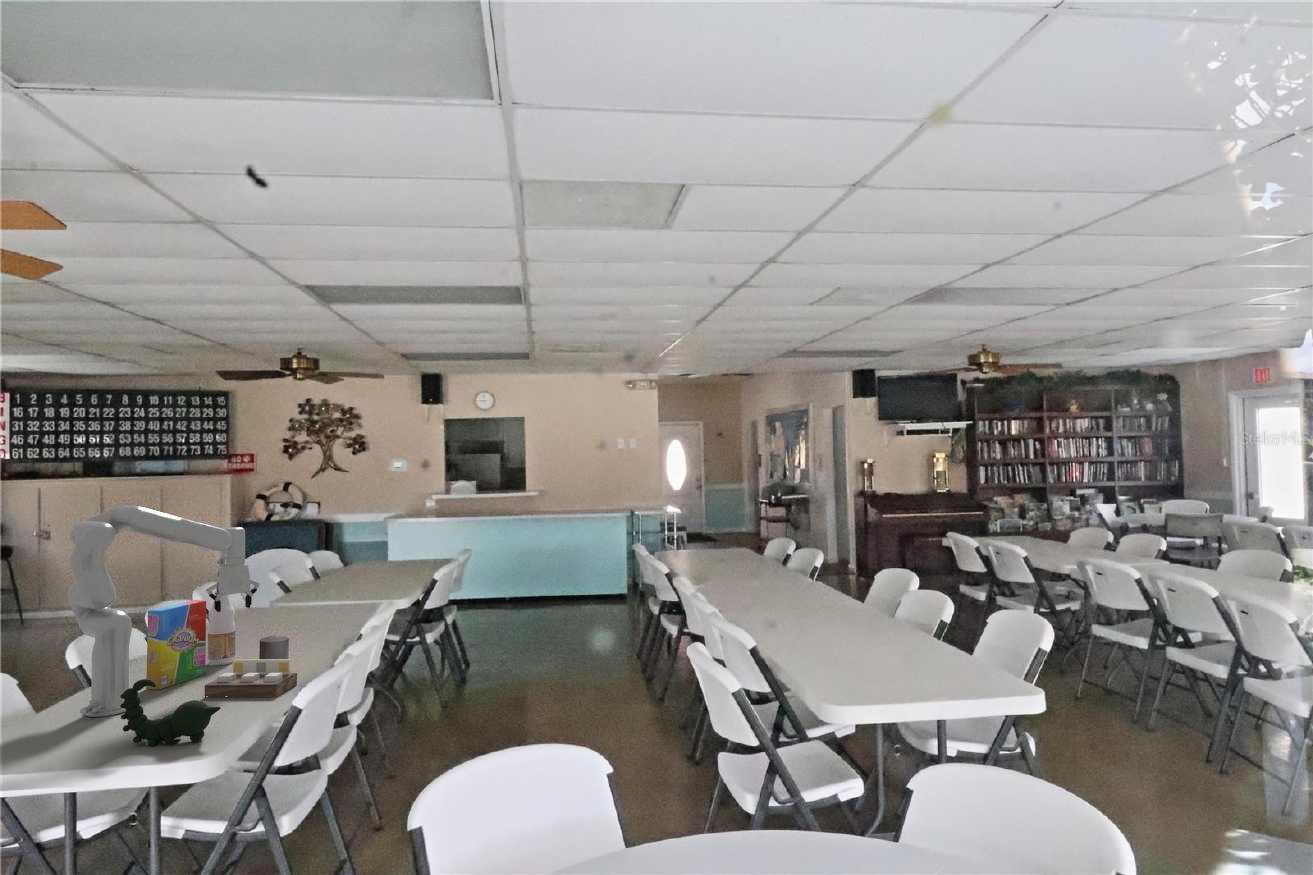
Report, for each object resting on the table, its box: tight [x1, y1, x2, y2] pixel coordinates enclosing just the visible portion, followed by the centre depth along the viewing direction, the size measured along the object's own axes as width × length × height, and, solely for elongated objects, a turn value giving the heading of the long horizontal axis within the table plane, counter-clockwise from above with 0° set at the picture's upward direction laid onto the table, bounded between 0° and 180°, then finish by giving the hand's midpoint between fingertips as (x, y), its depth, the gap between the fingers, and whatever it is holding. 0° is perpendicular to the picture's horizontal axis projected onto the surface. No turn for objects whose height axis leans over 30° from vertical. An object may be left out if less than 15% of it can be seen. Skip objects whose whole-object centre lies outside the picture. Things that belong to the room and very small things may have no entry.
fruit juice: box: [207, 590, 237, 666], centre depth 294 cm, size 9×9×28 cm
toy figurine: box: [120, 678, 221, 747], centre depth 209 cm, size 9×19×25 cm
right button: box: [265, 673, 283, 682], centre depth 255 cm, size 4×4×2 cm
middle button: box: [241, 673, 259, 682], centre depth 255 cm, size 4×4×2 cm
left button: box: [217, 672, 236, 682], centre depth 255 cm, size 4×4×2 cm
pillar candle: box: [258, 635, 290, 659], centre depth 274 cm, size 10×10×15 cm
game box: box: [145, 599, 207, 690], centre depth 269 cm, size 21×6×27 cm, turn 168°
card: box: [232, 658, 291, 675], centre depth 262 cm, size 1×20×5 cm, turn 89°
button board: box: [204, 672, 298, 698], centre depth 256 cm, size 14×24×4 cm, turn 89°
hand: (233, 609), depth 270 cm, fingers open, 9 cm apart
